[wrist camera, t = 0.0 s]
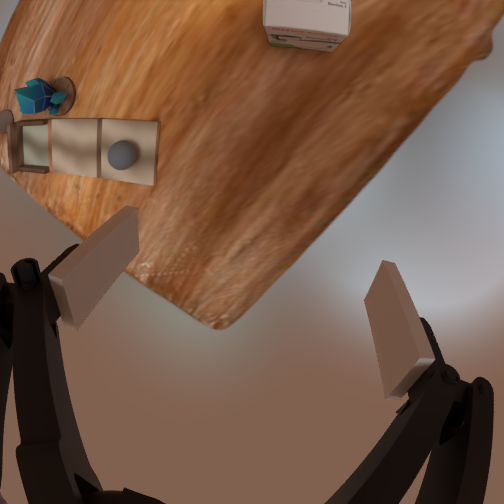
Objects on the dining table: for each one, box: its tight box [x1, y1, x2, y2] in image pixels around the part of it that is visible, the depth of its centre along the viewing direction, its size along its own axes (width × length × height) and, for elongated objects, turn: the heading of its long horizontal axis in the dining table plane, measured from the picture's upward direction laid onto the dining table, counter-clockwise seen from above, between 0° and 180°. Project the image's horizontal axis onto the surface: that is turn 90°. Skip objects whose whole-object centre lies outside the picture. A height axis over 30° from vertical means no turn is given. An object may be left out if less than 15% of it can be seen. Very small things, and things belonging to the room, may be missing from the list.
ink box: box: [263, 0, 351, 52], centre depth 25 cm, size 9×5×12 cm, turn 87°
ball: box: [107, 140, 137, 170], centre depth 38 cm, size 4×4×4 cm
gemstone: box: [15, 77, 75, 116], centre depth 32 cm, size 7×9×12 cm
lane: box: [7, 118, 161, 186], centre depth 40 cm, size 10×33×4 cm, turn 80°
